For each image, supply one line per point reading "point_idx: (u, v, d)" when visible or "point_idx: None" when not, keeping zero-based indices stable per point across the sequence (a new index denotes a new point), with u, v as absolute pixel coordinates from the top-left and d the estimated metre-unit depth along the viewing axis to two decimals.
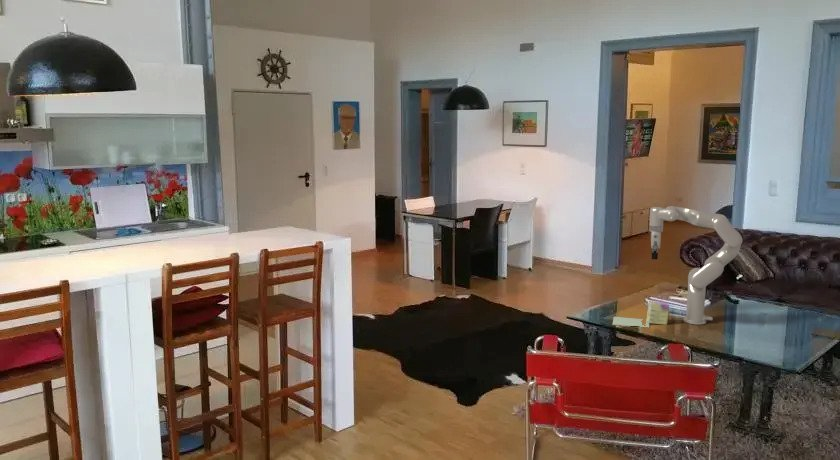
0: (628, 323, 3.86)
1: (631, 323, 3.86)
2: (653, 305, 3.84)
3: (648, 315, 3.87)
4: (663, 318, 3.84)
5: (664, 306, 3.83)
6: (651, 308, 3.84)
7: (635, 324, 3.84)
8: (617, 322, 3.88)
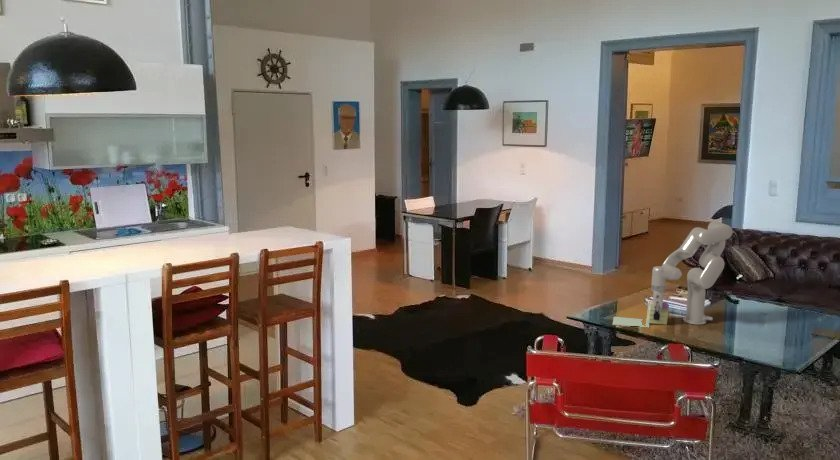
0: (628, 323, 3.86)
1: (631, 323, 3.86)
2: None
3: (648, 315, 3.87)
4: (663, 318, 3.84)
5: (664, 306, 3.83)
6: (651, 308, 3.84)
7: (635, 324, 3.84)
8: (617, 322, 3.88)
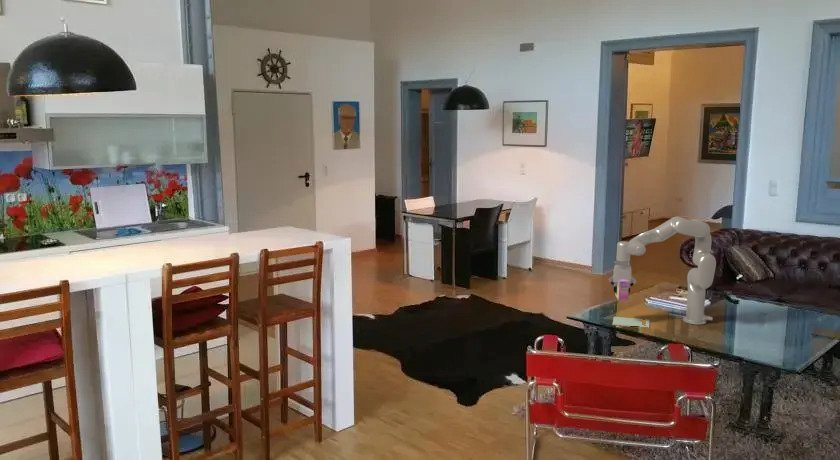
0: (628, 323, 3.86)
1: (631, 323, 3.86)
2: None
3: None
4: (617, 293, 3.85)
5: (618, 281, 3.84)
6: None
7: (635, 324, 3.84)
8: (617, 322, 3.88)
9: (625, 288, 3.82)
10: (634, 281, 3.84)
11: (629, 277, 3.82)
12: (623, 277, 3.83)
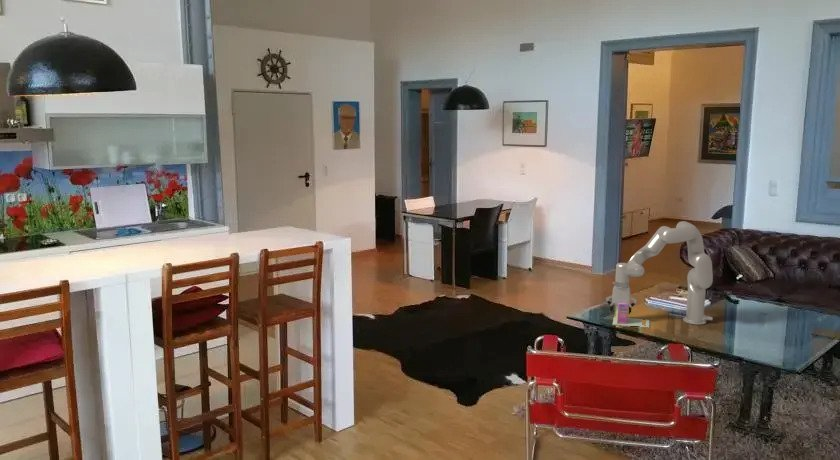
0: (628, 323, 3.86)
1: (631, 323, 3.86)
2: None
3: None
4: (616, 316, 3.88)
5: (617, 304, 3.87)
6: None
7: (635, 324, 3.84)
8: None
9: (624, 311, 3.84)
10: (634, 301, 3.86)
11: (628, 298, 3.85)
12: (622, 299, 3.86)
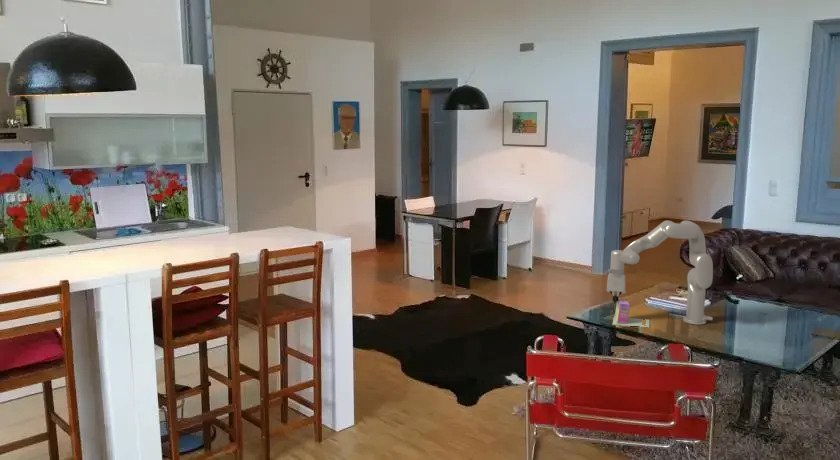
0: (628, 323, 3.86)
1: (631, 323, 3.86)
2: None
3: None
4: (617, 315, 3.88)
5: (618, 303, 3.87)
6: None
7: (635, 324, 3.84)
8: None
9: (625, 311, 3.84)
10: None
11: (623, 285, 3.84)
12: (617, 286, 3.85)
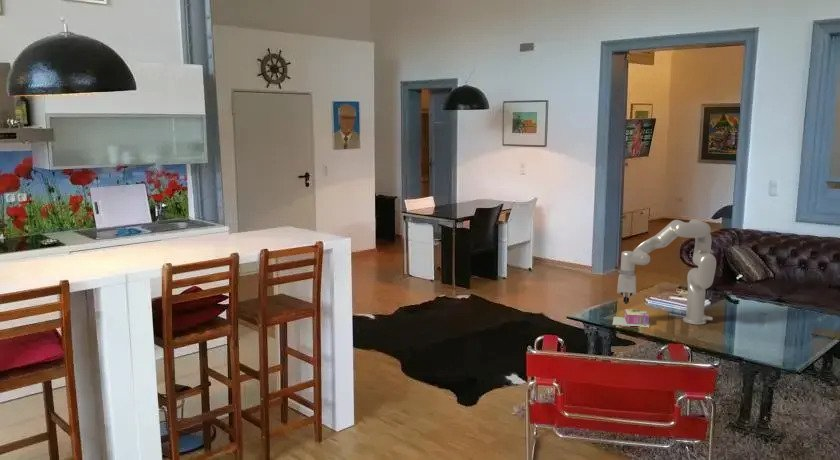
0: None
1: None
2: (644, 310, 3.92)
3: None
4: (633, 313, 3.86)
5: (646, 313, 3.86)
6: (640, 310, 3.93)
7: (635, 324, 3.84)
8: (617, 322, 3.88)
9: (640, 321, 3.84)
10: None
11: (633, 287, 3.83)
12: (627, 287, 3.84)
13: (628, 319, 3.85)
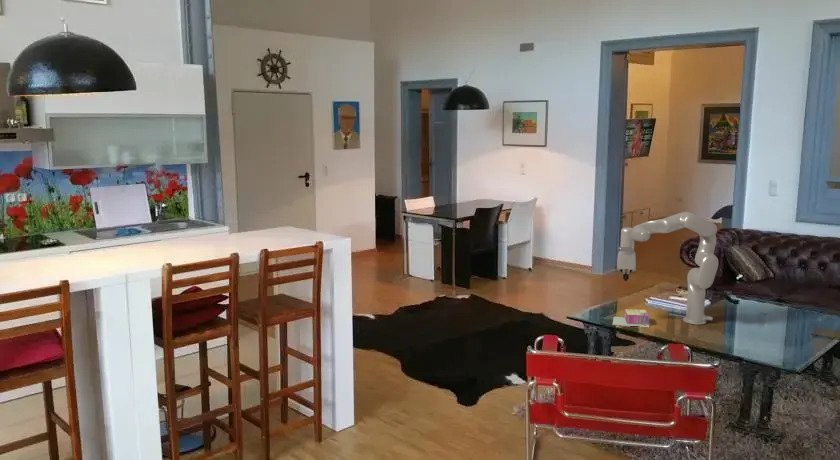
0: None
1: None
2: (644, 310, 3.92)
3: None
4: (633, 313, 3.86)
5: (646, 313, 3.86)
6: (640, 310, 3.93)
7: (635, 324, 3.84)
8: (617, 322, 3.88)
9: (640, 321, 3.84)
10: (634, 269, 3.83)
11: (633, 263, 3.80)
12: (627, 264, 3.81)
13: (628, 319, 3.85)
